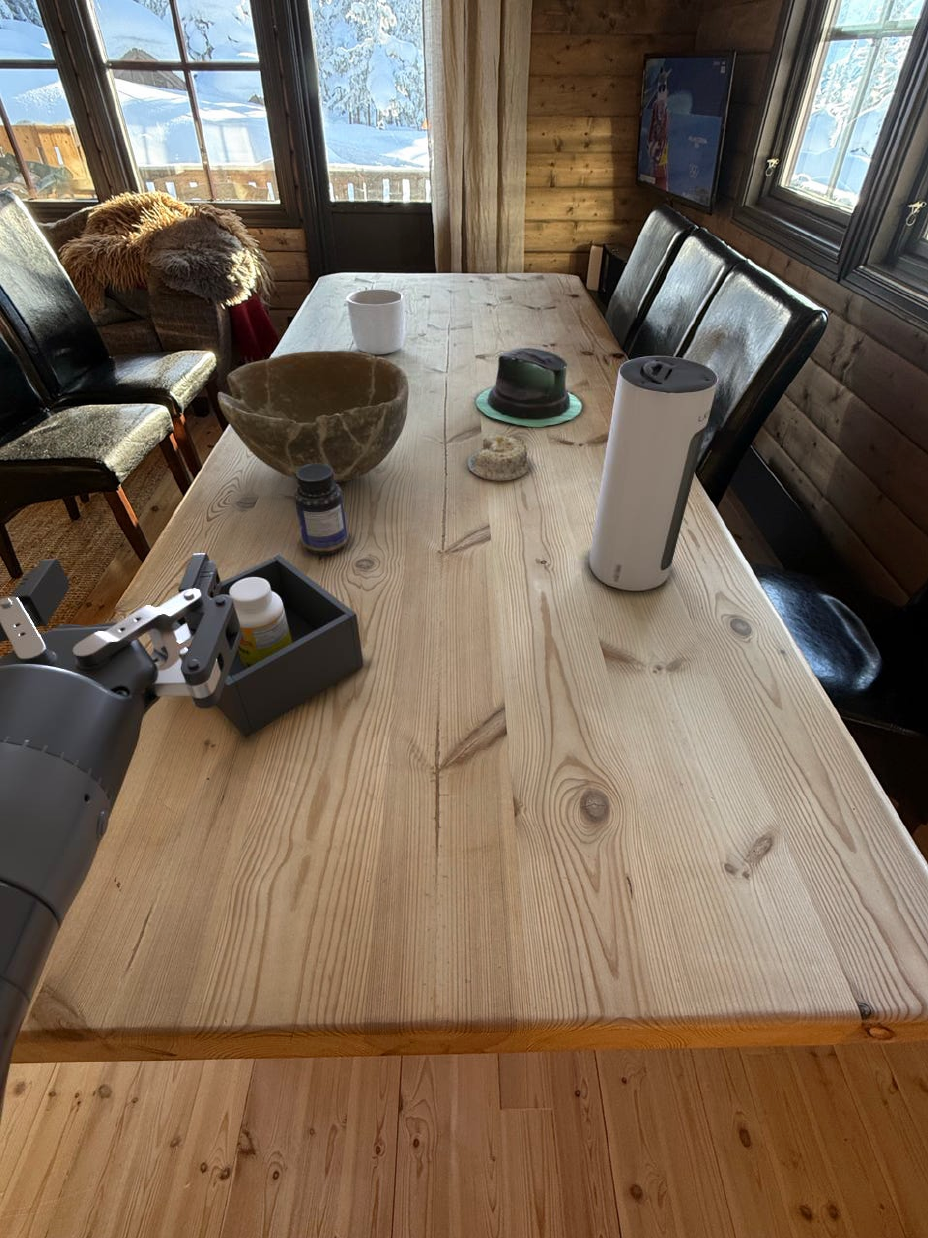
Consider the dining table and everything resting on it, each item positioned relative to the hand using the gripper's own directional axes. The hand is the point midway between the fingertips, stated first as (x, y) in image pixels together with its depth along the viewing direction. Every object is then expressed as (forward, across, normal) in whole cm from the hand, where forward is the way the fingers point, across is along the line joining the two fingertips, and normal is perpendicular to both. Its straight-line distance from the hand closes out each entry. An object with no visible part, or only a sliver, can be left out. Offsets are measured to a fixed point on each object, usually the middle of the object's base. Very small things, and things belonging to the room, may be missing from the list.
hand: (131, 568), depth 39 cm
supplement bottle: (+20, 0, +28) cm, 34 cm away
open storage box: (+20, 0, +28) cm, 34 cm away
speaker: (+35, -44, +28) cm, 63 cm away
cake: (+64, -30, +28) cm, 76 cm away
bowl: (+64, -2, +28) cm, 70 cm away
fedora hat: (+88, -38, +28) cm, 100 cm away
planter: (+121, -9, +28) cm, 124 cm away
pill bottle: (+43, -4, +28) cm, 52 cm away
